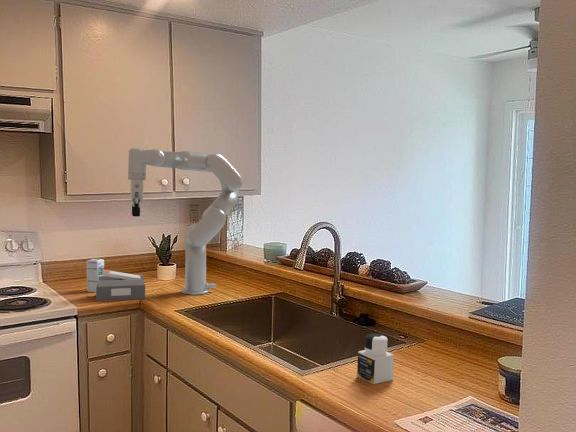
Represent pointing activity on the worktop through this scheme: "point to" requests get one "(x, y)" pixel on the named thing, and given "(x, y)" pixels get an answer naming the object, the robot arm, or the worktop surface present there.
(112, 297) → the breaker box
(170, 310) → the worktop surface
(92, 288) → the syrup box
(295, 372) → the worktop surface
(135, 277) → the rocker switch
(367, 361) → the medicine bottle
